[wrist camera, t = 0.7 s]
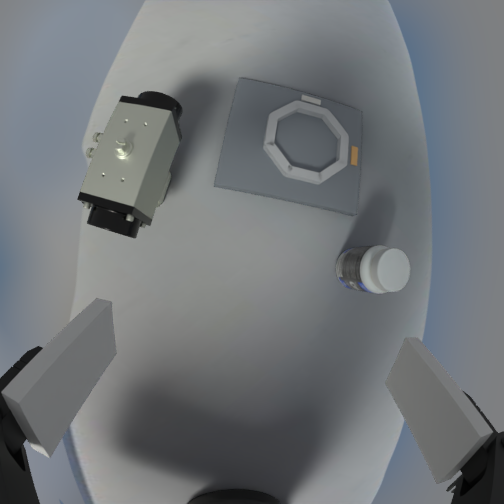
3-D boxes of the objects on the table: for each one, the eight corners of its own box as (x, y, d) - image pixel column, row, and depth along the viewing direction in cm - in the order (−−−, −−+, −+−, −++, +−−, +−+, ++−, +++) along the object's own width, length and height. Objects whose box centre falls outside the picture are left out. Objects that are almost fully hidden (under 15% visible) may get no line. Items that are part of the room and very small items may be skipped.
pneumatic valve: (190, 143, 29) (180, 82, 18) (156, 245, 29) (119, 233, 17) (145, 133, 29) (117, 73, 17) (110, 231, 28) (55, 213, 16)
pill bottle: (333, 288, 31) (371, 296, 23) (336, 246, 31) (375, 241, 23) (368, 289, 32) (411, 296, 23) (371, 249, 32) (415, 246, 24)
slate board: (352, 216, 32) (361, 213, 29) (214, 186, 30) (214, 181, 27) (358, 115, 32) (365, 107, 30) (238, 83, 30) (239, 72, 28)
